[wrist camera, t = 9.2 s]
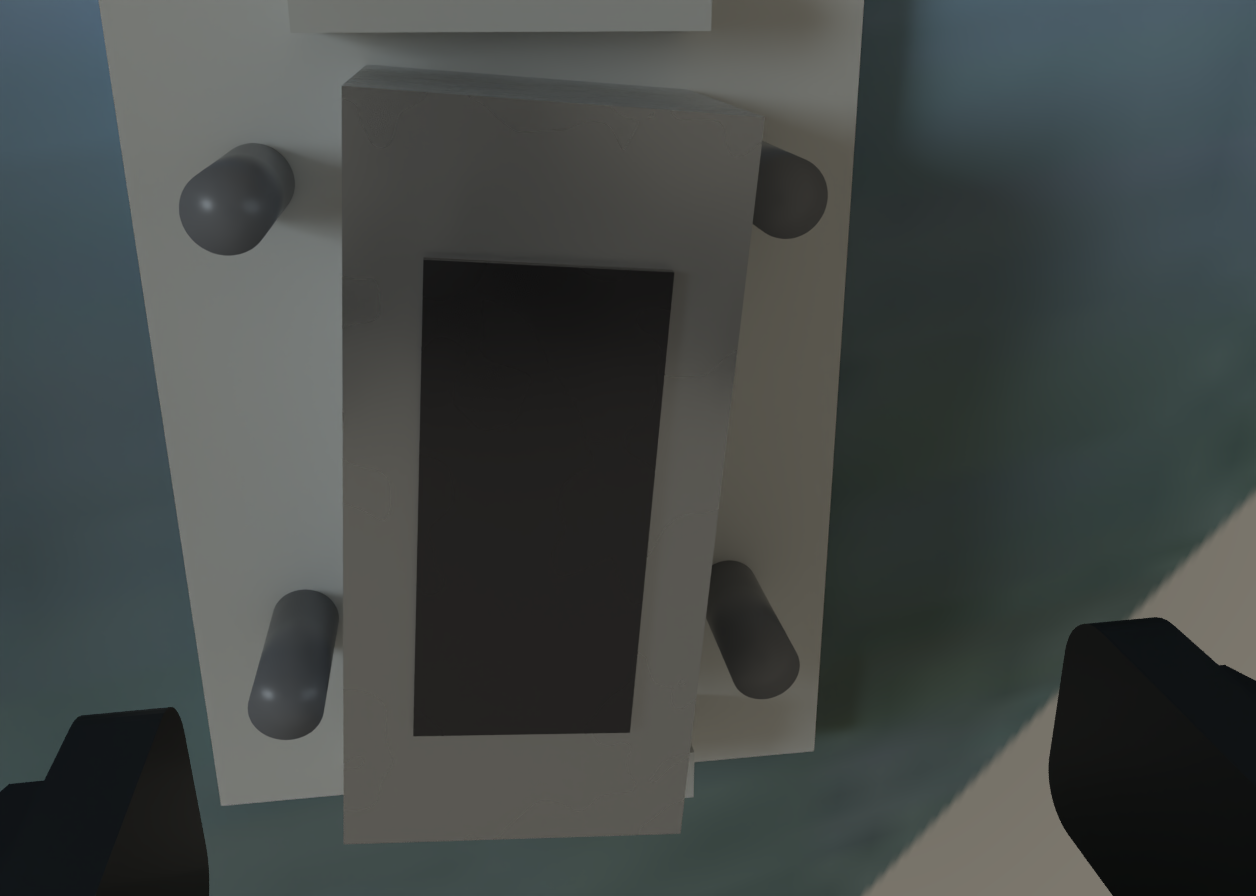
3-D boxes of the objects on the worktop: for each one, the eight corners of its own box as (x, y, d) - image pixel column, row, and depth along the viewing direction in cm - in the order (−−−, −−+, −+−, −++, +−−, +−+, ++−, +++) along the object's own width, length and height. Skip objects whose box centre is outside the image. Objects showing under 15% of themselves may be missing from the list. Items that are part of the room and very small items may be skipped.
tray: (102, -88, 18) (15, -111, 14) (849, -81, 20) (944, -100, 16) (229, 774, 24) (191, 916, 20) (800, 723, 25) (861, 846, 22)
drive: (366, 64, 18) (340, 85, 14) (687, 89, 19) (768, 117, 15) (364, 669, 22) (343, 850, 18) (632, 667, 23) (682, 840, 18)
